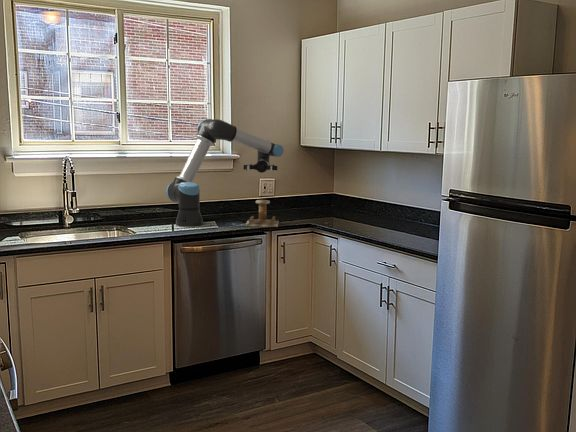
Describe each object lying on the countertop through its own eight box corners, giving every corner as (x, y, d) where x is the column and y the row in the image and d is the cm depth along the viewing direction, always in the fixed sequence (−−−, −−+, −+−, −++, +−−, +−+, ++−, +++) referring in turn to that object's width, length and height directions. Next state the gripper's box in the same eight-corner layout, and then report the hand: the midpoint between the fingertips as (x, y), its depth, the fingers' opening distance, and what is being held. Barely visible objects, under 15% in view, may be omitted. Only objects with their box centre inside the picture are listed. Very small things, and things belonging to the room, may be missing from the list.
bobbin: (259, 223, 335) (259, 202, 333) (253, 221, 342) (253, 200, 340) (271, 222, 338) (272, 201, 336) (265, 220, 345) (265, 199, 343)
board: (245, 226, 333) (245, 219, 333) (247, 222, 347) (247, 215, 347) (277, 226, 333) (277, 220, 332) (278, 222, 347) (278, 216, 346)
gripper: (282, 172, 368) (280, 175, 347) (241, 171, 369) (238, 174, 348) (282, 160, 367) (280, 162, 346) (242, 159, 368) (238, 161, 347)
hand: (259, 168), depth 347 cm, fingers open, 13 cm apart
